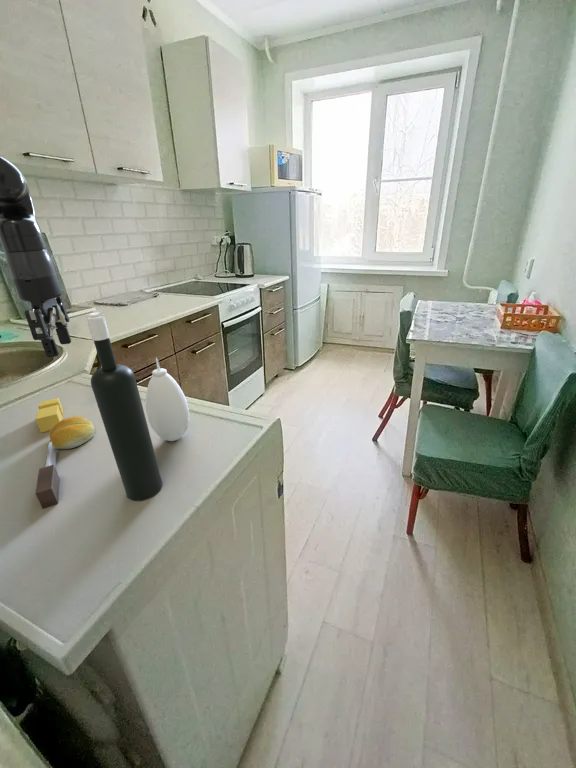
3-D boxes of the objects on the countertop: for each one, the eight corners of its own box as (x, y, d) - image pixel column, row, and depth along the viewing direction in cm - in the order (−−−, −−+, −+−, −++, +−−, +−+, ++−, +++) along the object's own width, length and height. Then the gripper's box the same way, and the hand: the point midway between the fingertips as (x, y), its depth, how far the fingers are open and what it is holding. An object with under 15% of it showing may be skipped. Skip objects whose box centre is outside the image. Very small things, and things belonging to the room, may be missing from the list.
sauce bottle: (181, 424, 78) (165, 346, 70) (200, 437, 73) (185, 355, 65) (147, 439, 73) (126, 358, 65) (165, 454, 68) (144, 369, 60)
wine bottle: (128, 506, 56) (69, 322, 43) (124, 484, 61) (69, 312, 48) (165, 492, 58) (119, 314, 45) (159, 473, 63) (115, 306, 50)
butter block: (62, 427, 79) (56, 414, 77) (41, 432, 77) (35, 419, 76) (62, 417, 83) (57, 404, 81) (42, 422, 81) (37, 409, 80)
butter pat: (63, 414, 84) (58, 401, 83) (43, 419, 82) (38, 406, 81) (63, 410, 86) (58, 397, 85) (44, 414, 84) (39, 402, 83)
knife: (58, 503, 57) (51, 488, 56) (42, 508, 56) (35, 493, 55) (61, 452, 70) (56, 439, 69) (48, 456, 69) (43, 442, 68)
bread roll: (52, 456, 69) (45, 439, 67) (51, 435, 76) (45, 419, 74) (98, 441, 73) (92, 425, 71) (93, 423, 80) (88, 407, 78)
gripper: (28, 271, 77) (52, 341, 84) (-5, 281, 64) (27, 363, 71) (66, 268, 78) (87, 338, 85) (41, 278, 66) (68, 358, 73)
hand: (60, 349), depth 78 cm, fingers open, 8 cm apart
